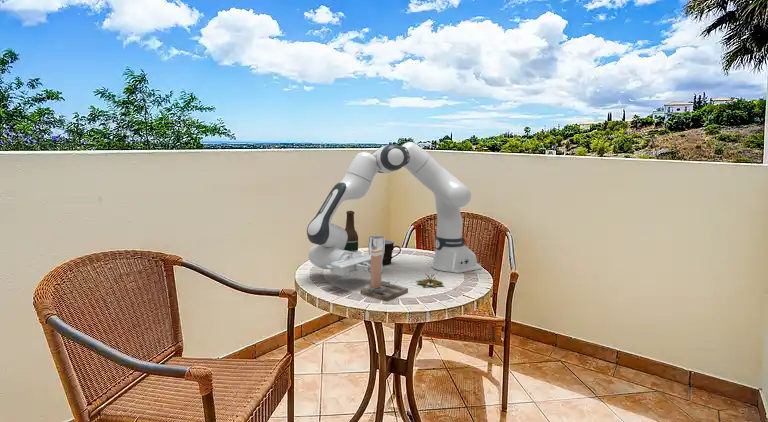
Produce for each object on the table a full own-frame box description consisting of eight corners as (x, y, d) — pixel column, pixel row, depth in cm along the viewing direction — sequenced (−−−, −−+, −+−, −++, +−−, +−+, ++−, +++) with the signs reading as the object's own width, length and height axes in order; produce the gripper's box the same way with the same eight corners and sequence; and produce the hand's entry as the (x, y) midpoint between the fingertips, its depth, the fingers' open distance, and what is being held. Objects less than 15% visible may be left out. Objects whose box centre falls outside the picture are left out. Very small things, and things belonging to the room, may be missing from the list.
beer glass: (382, 274, 190) (383, 239, 188) (366, 272, 191) (367, 237, 189) (385, 269, 197) (386, 235, 194) (369, 268, 198) (370, 234, 196)
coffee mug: (370, 262, 208) (371, 241, 206) (383, 259, 214) (384, 238, 212) (388, 268, 200) (389, 245, 198) (401, 264, 206) (402, 243, 204)
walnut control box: (360, 293, 164) (360, 286, 164) (382, 285, 175) (382, 278, 174) (387, 301, 157) (387, 294, 157) (408, 292, 167) (408, 285, 167)
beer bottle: (355, 266, 201) (357, 212, 197) (338, 265, 202) (339, 211, 198) (359, 262, 208) (360, 210, 205) (343, 260, 209) (344, 209, 206)
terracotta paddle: (370, 288, 165) (371, 250, 163) (376, 285, 168) (378, 248, 166) (374, 289, 164) (375, 251, 162) (381, 286, 167) (382, 249, 165)
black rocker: (374, 292, 161) (374, 290, 161) (378, 290, 162) (378, 288, 162) (382, 293, 158) (382, 290, 158) (386, 291, 160) (386, 288, 160)
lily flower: (450, 289, 174) (450, 277, 174) (420, 290, 171) (421, 279, 171) (438, 280, 186) (438, 269, 185) (410, 281, 183) (411, 270, 182)
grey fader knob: (381, 284, 170) (381, 280, 169) (384, 283, 171) (384, 279, 171) (387, 286, 168) (387, 282, 168) (389, 285, 170) (390, 280, 169)
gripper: (323, 258, 167) (351, 265, 158) (359, 249, 183) (386, 255, 175) (323, 275, 168) (351, 283, 159) (359, 264, 184) (386, 271, 176)
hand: (370, 268), depth 167 cm, fingers closed
